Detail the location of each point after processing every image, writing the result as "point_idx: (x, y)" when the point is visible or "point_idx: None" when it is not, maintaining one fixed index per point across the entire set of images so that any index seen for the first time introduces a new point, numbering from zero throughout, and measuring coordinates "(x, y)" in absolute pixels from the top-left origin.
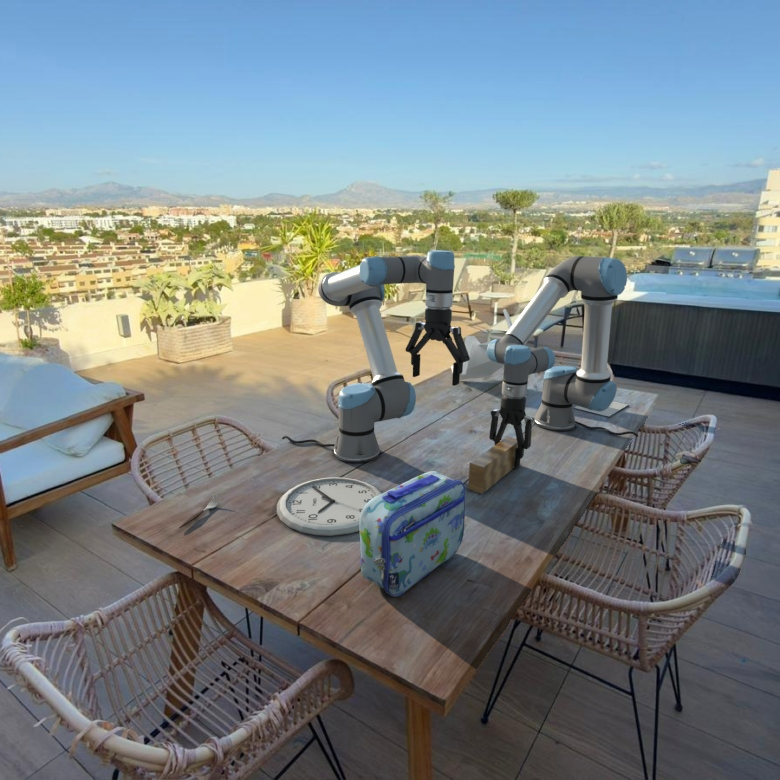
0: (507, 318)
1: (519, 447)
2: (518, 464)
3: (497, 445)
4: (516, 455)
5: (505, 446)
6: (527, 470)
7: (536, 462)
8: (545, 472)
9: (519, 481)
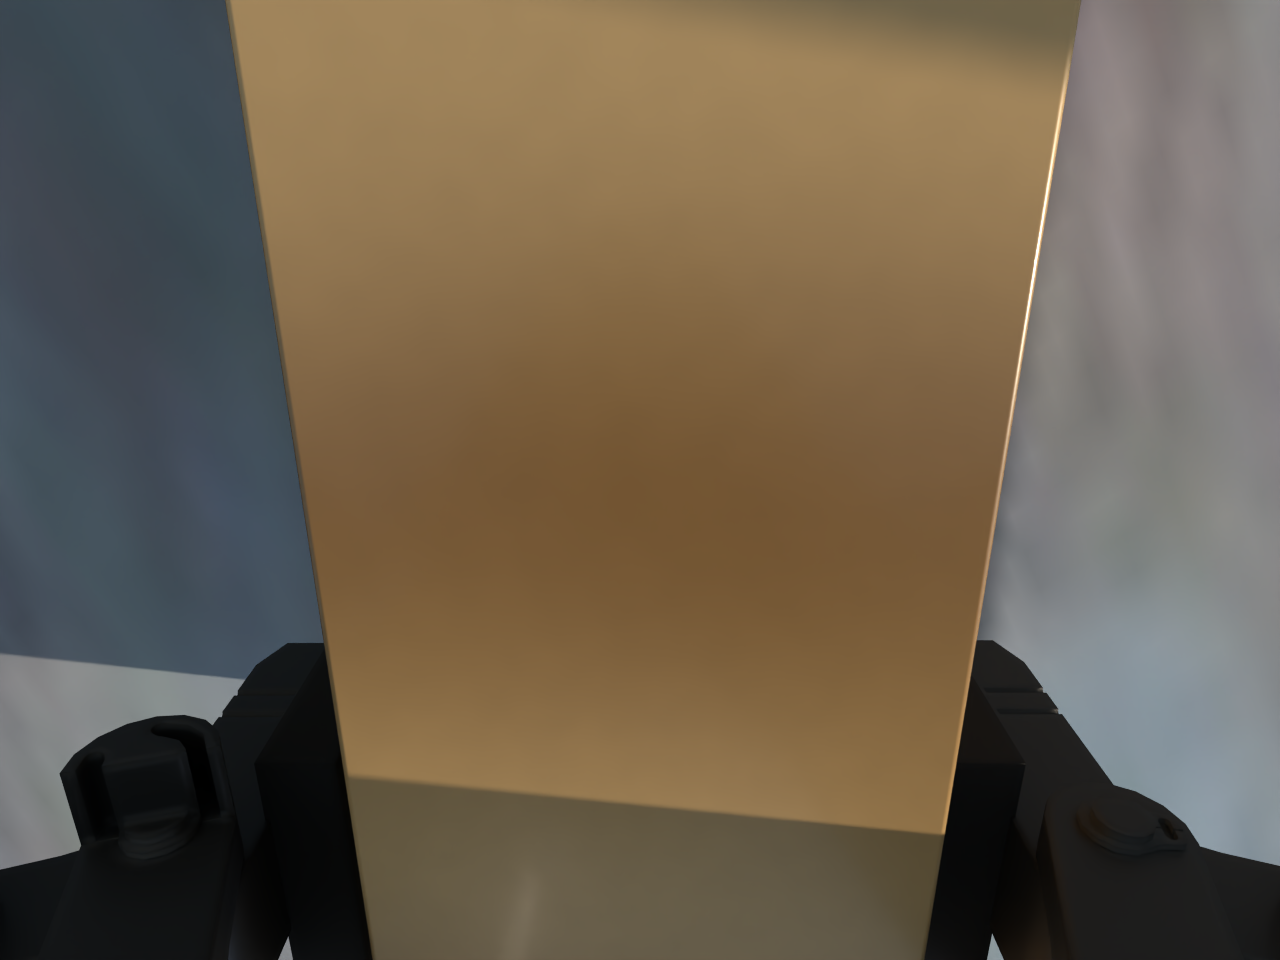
0: None
1: (165, 827)
2: None
3: (902, 382)
4: None
5: (534, 503)
6: (284, 602)
7: None
8: (36, 706)
9: (117, 68)
